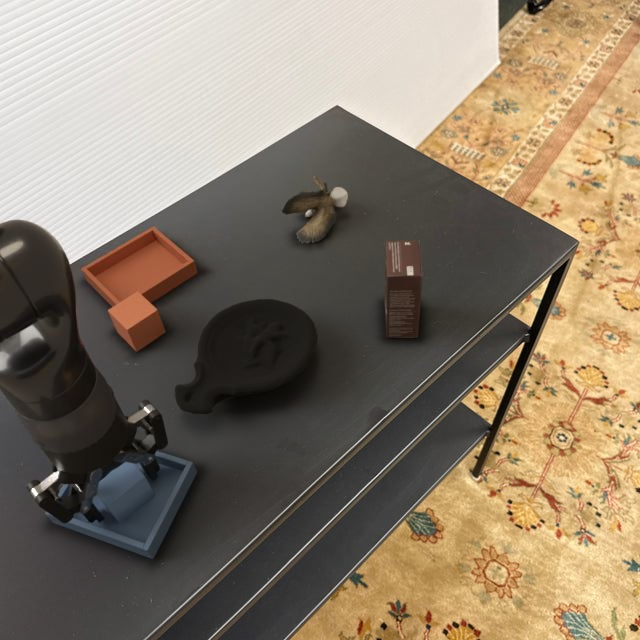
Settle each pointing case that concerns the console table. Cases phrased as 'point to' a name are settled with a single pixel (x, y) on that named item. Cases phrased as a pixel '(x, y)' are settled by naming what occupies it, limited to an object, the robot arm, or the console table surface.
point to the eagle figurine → (316, 210)
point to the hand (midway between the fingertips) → (124, 493)
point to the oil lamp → (248, 353)
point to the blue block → (124, 491)
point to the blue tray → (140, 510)
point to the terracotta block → (137, 321)
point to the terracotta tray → (140, 268)
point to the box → (403, 288)
